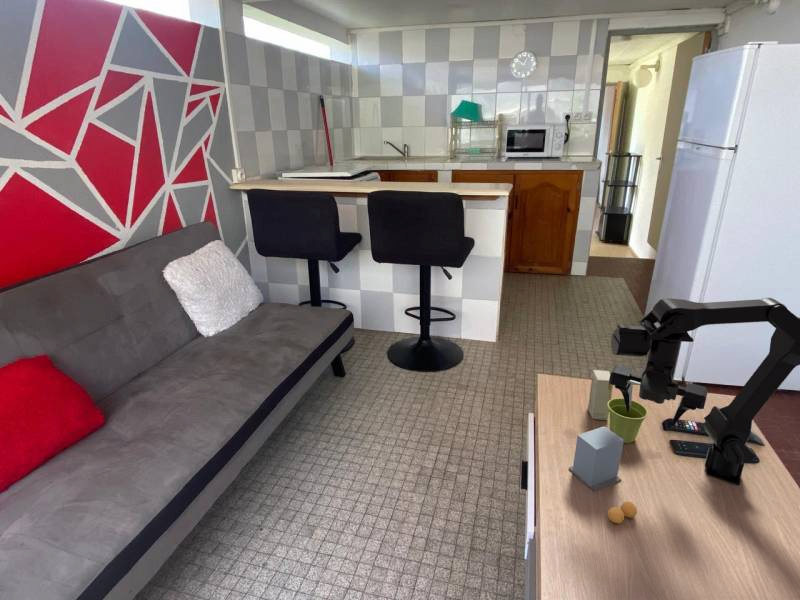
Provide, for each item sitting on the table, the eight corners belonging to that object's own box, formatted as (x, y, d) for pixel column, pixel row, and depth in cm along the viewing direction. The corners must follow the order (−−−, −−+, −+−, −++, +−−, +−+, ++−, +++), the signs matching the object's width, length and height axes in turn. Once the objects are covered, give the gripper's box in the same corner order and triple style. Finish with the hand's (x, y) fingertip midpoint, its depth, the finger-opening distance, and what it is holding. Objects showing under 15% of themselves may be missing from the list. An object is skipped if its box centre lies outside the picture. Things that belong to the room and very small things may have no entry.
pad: (594, 459, 112) (594, 458, 112) (621, 480, 105) (621, 479, 105) (568, 468, 109) (568, 467, 109) (594, 491, 102) (594, 490, 102)
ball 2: (637, 513, 96) (639, 502, 95) (634, 523, 94) (636, 511, 93) (621, 507, 98) (623, 496, 97) (618, 516, 96) (620, 505, 95)
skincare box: (608, 421, 127) (614, 381, 123) (591, 419, 128) (597, 380, 124) (603, 408, 133) (609, 370, 129) (587, 406, 134) (592, 368, 130)
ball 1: (624, 519, 95) (626, 508, 94) (621, 529, 93) (623, 517, 92) (609, 513, 97) (611, 501, 96) (605, 522, 94) (607, 510, 93)
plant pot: (636, 427, 124) (641, 399, 121) (647, 449, 115) (653, 420, 112) (599, 424, 126) (603, 396, 123) (607, 446, 117) (612, 416, 114)
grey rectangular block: (598, 461, 111) (604, 426, 108) (617, 476, 106) (623, 440, 103) (572, 470, 108) (577, 434, 105) (590, 486, 103) (596, 449, 100)
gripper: (607, 359, 100) (598, 421, 105) (710, 385, 89) (693, 452, 95) (619, 341, 108) (610, 399, 114) (714, 363, 98) (699, 425, 103)
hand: (650, 418), depth 106 cm, fingers open, 9 cm apart
